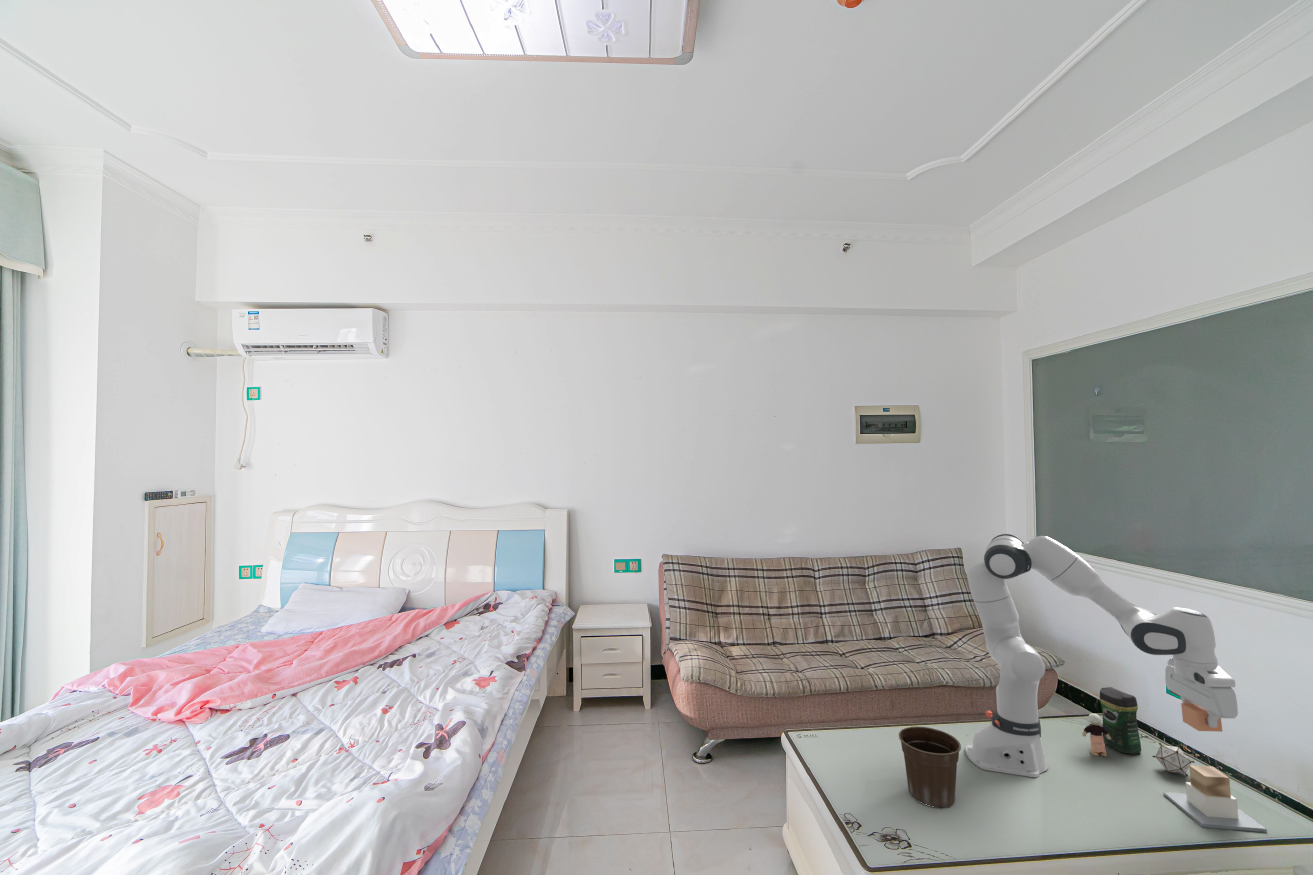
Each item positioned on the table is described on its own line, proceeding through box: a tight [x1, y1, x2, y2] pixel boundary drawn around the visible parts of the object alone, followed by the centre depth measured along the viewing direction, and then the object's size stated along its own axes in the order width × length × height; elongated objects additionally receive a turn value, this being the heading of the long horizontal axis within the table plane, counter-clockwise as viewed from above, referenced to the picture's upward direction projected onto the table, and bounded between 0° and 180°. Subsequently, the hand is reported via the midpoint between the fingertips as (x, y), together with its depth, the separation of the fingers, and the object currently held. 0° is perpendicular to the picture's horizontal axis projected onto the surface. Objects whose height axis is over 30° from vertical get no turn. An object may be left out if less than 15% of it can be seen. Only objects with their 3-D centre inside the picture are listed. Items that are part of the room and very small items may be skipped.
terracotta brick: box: [1180, 702, 1223, 733], centre depth 150 cm, size 6×6×5 cm
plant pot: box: [898, 726, 962, 809], centre depth 159 cm, size 16×16×16 cm
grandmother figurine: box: [1081, 712, 1111, 757], centre depth 178 cm, size 8×4×13 cm, turn 84°
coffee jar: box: [1098, 686, 1142, 755], centre depth 182 cm, size 10×8×19 cm
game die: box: [1151, 742, 1196, 777], centre depth 167 cm, size 9×8×10 cm
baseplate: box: [1163, 781, 1268, 833], centre depth 148 cm, size 14×14×6 cm
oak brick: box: [1188, 764, 1231, 797], centre depth 148 cm, size 6×6×5 cm
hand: (1201, 720), depth 150 cm, fingers closed on terracotta brick, 5 cm apart
